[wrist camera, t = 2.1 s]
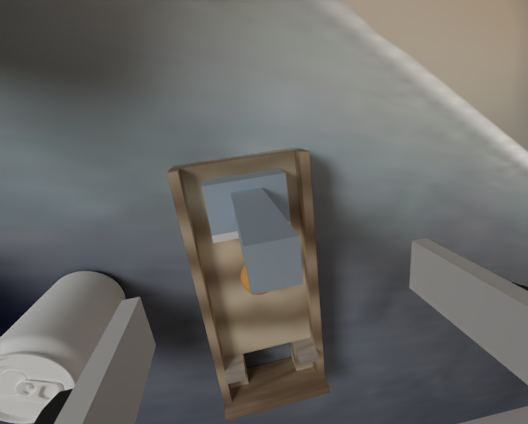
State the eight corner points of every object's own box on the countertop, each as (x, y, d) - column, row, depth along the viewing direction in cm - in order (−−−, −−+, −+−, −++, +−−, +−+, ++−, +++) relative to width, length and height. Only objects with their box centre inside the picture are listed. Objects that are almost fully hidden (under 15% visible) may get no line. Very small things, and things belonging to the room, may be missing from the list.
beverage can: (65, 258, 30) (-24, 337, 19) (137, 281, 32) (96, 364, 21) (43, 314, 32) (-51, 419, 20) (114, 332, 34) (64, 435, 23)
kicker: (202, 180, 27) (190, 238, 13) (278, 168, 28) (342, 210, 14) (213, 231, 29) (212, 330, 15) (283, 218, 30) (345, 300, 16)
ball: (236, 256, 31) (239, 274, 27) (269, 249, 31) (277, 266, 28) (241, 285, 32) (245, 306, 28) (273, 278, 33) (281, 298, 29)
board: (173, 166, 29) (163, 175, 23) (296, 147, 31) (314, 152, 25) (224, 379, 39) (226, 421, 34) (313, 356, 41) (329, 392, 36)
